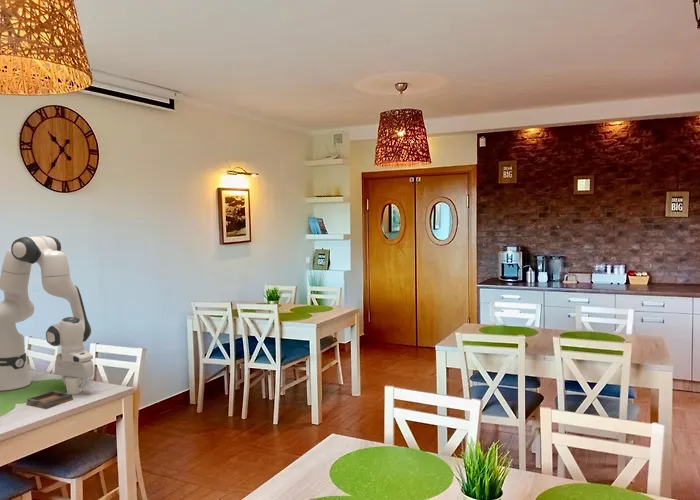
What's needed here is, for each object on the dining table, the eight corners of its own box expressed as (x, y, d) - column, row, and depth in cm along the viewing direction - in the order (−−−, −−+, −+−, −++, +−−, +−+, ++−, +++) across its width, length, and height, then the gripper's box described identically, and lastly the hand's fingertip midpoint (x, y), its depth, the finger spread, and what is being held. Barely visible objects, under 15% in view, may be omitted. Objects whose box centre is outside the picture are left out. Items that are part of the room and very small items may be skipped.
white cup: (86, 389, 240) (85, 374, 240) (77, 394, 234) (76, 378, 233) (71, 389, 241) (71, 373, 241) (62, 394, 234) (61, 378, 234)
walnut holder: (26, 404, 222) (26, 399, 222) (53, 395, 233) (53, 390, 233) (46, 408, 217) (46, 403, 217) (73, 399, 228) (72, 394, 228)
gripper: (50, 354, 238) (51, 385, 239) (83, 359, 229) (84, 391, 230) (63, 351, 244) (64, 381, 245) (95, 355, 235) (97, 387, 236)
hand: (74, 386), depth 237 cm, fingers open, 8 cm apart
